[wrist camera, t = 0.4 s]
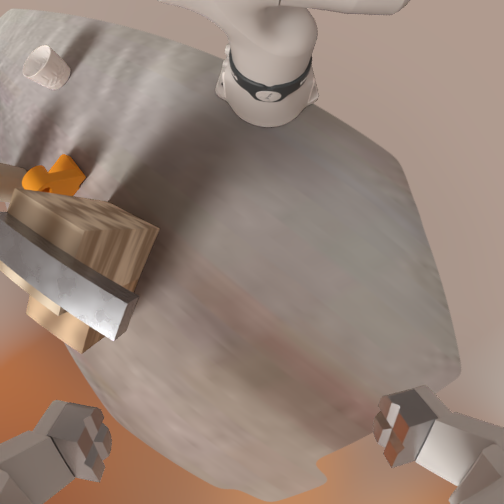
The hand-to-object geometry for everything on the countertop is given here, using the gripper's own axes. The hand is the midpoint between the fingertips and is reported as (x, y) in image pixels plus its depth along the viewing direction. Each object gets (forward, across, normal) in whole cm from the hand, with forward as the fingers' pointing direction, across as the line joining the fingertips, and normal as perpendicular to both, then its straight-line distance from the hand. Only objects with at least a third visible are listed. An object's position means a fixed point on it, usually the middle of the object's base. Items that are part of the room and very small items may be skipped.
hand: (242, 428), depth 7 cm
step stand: (+47, +22, +7) cm, 53 cm away
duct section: (+21, +19, +1) cm, 28 cm away
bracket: (+51, +34, -8) cm, 62 cm away
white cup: (+55, +39, -35) cm, 76 cm away
